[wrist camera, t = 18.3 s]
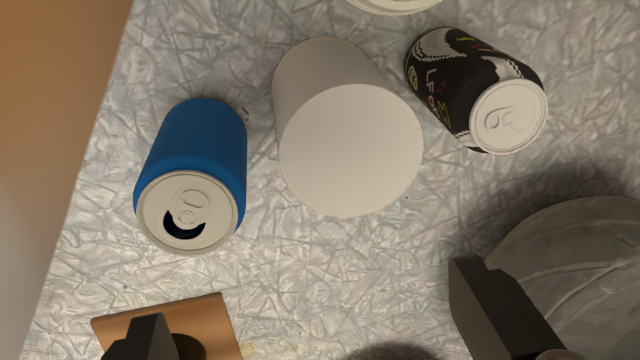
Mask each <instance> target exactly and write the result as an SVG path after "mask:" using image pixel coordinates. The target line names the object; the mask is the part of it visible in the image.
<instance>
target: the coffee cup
mask: <svg viewBox="0 0 640 360" xmlns="http://www.w3.org/2000/svg"><path fill="white" fill-rule="evenodd" d="M347 1H348V2H350V3H351V4H353V5H354V6H356V7H358V8H360V9H362V10H364V11H367V12H370V13H373V14H377V15H384V16H402V15H409V14H414V13H417V12H420V11H423V10H425V9H428V8H430V7H432V6H434V5H436V4H437V3H439V2H440V1H442V0H347Z"/></svg>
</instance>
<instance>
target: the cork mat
mask: <svg viewBox="0 0 640 360" xmlns="http://www.w3.org/2000/svg"><path fill="white" fill-rule="evenodd" d="M158 312H161V313H163V315H164V317H165V319H166V322H167V325H168V327H169V330H170V332H171V333H180V334H185V335H189V336H191V337H193V338H195V339H197V340H198V341H199V342H201V344H202V345H203V346H204V348H205V350H206V353H207V360H243V358H242V355H241V352H240V349H239V346H238V343H237V340H236V337H235V334H234V331H233V328H232V325H231V322H230V319H229V316H228V313H227V310H226V307H225V304H224V301H223V298H222V295H221V293H216V294H211V295H206V296H201V297H196V298H191V299H186V300H182V301H177V302H172V303H167V304H162V305H157V306H152V307H147V308H142V309H137V310H133V311H128V312H123V313H118V314H113V315H108V316H103V317H98V318H93V319H91V322H90V324H91V326H92V328H93V330H94V332H95V334H96V336H97V338H98V340H99V342H100V344H101V346H102V348H103V350H104V352H106V351H107V349H108V348H109V347H110V346H111V344H112V343H113V342H114V340H119V339H124V338H126V334H127V331H128V328H129V324H130V321H131V319H132V318H133V317H137V316H142V315H147V314H153V313H158Z"/></svg>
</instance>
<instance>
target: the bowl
mask: <svg viewBox="0 0 640 360" xmlns="http://www.w3.org/2000/svg"><path fill="white" fill-rule="evenodd" d="M484 264H485V266H486V267H487V269H488V270H493V269H498V268H500V269H501V270H503V271H504V272H506V273H507V274H509V275H510V276H512V277H513V278H515V279H516V280H517V282H518V283H519V284H520V286H521V287H522V288H523V290H524V291H525V292H526V295H528V296H529V298H530V299H531V301H532V302H533V303H534V306H535V307H537V309H538V310H539V311H540V313H541V314H542V315H543V317H544V318H545V320H546V321H547V322H548V324H549V325H550V326H551V328H552V329H553V330H554V332H555V333H556V334H557V336H558V337H559V339H560V340H561V341H562V343H563V344H564V345H565V347H566V348H567V349H568V350H570V351H573V352H576V353H578V354H580V355H583V356H584V357H586V358H587V359H589V360H640V200H639V199H633V198H627V197H620V196H598V197H586V198H580V199H574V200H569V201H565V202H562V203H559V204H555V205H552V206H550V207H547V208H545V209H542V210H541V211H539V212H537V213H535V214H533V215H531V216H529V217H528V218H526V219H525V220H524V221H522V222H521V223H520V224H519V225H517V226H516V227H515V228H514V229H513V230H511V231H510V232H509V233H508V234H507V235H506V236H505V237H504V238H503V239H502V240H501V241H500V242H499V243H498V244H497V245H496V246H495V248H494V249H493V250H492V251H491V253H490V254H489V255H488V257H487V258H486V260H485V262H484Z"/></svg>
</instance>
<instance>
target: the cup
mask: <svg viewBox="0 0 640 360" xmlns="http://www.w3.org/2000/svg"><path fill="white" fill-rule="evenodd" d="M271 95H272V104H273V113H274V122H275V130H276V139H277V148H278V157H279V165H280V171H281V174H282V177H283V180H284V182H285V184H286V186H287V188H288V189H289V191H290V192H291V193H292V194H293V196H294V197H295V198H296V199H297V200H298V201H299V202H301V203H302V204H303V205H304V206H306V207H308V208H309V209H311V210H313V211H315V212H317V213H320V214H323V215H326V216H331V217H338V218H352V217H360V216H364V215H368V214H371V213H374V212H376V211H379V210H381V209H383V208H385V207H386V206H388V205H390V204H391V203H392V202H394V201H395V200H396V199H398V198H399V197H400V196H401V195H402V194H403V193H404V192H405V191H406V190H407V188H408V187H409V186H410V185H411V183H412V182H413V180H414V178H415V177H416V175H417V173H418V170H419V168H420V165H421V161H422V157H423V149H424V141H423V134H422V129H421V126H420V123H419V121H418V119H417V117H416V115H415V114H414V112H413V111H412V109H411V108H410V107H409V106H408V104H407V103H406V102H405V101H404V100H403V98H402V97H401V96H400V95H399V94H398V92H397V91H396V90H395V89H394V88H393V87H392V85H391V84H390V83H389V82H388V81H387V79H386V78H385V77H384V76H383V75H382V74H381V72H380V71H379V70H378V69H377V68H376V66H375V65H374V64H373V63H372V62H371V61H370V59H369V58H368V57H367V56H366V55H365V53H364V52H363V51H362V50H361V49H360V48H358V47H357V46H356V45H354V44H353V43H351V42H349V41H347V40H344V39H341V38H338V37H331V36H320V37H314V38H311V39H307V40H305V41H303V42H301V43H299V44H297V45H296V46H294V47H293V48H291V49H290V50H289V51H288V52H287V53H286V54H285V55H284V56H283V58H282V59H281V60H280V62H279V64H278V65H277V67H276V70H275V72H274V75H273V79H272V85H271Z"/></svg>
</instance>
